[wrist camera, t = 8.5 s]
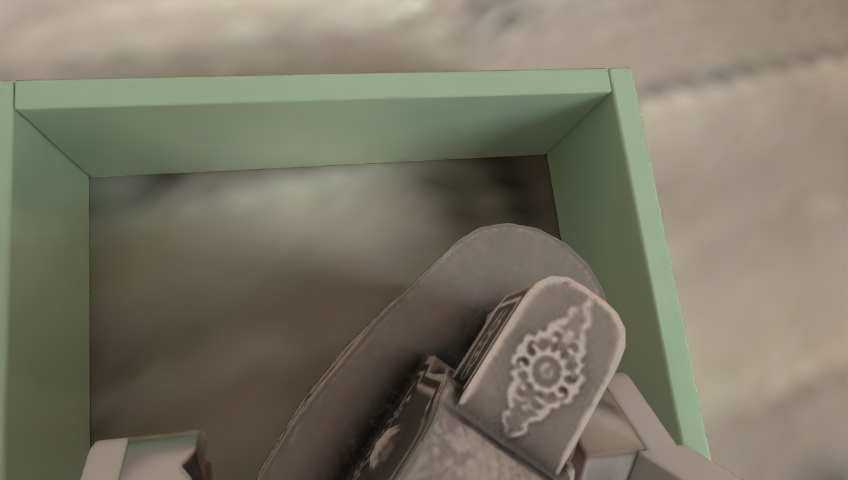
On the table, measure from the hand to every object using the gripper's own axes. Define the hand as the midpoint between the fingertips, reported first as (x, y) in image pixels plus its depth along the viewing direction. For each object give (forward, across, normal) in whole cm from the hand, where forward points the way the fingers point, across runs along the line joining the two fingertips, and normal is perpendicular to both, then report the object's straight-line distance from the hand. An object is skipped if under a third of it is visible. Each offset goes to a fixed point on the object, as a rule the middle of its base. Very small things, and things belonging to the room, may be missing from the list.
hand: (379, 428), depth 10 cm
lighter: (+3, 0, +4) cm, 5 cm away
